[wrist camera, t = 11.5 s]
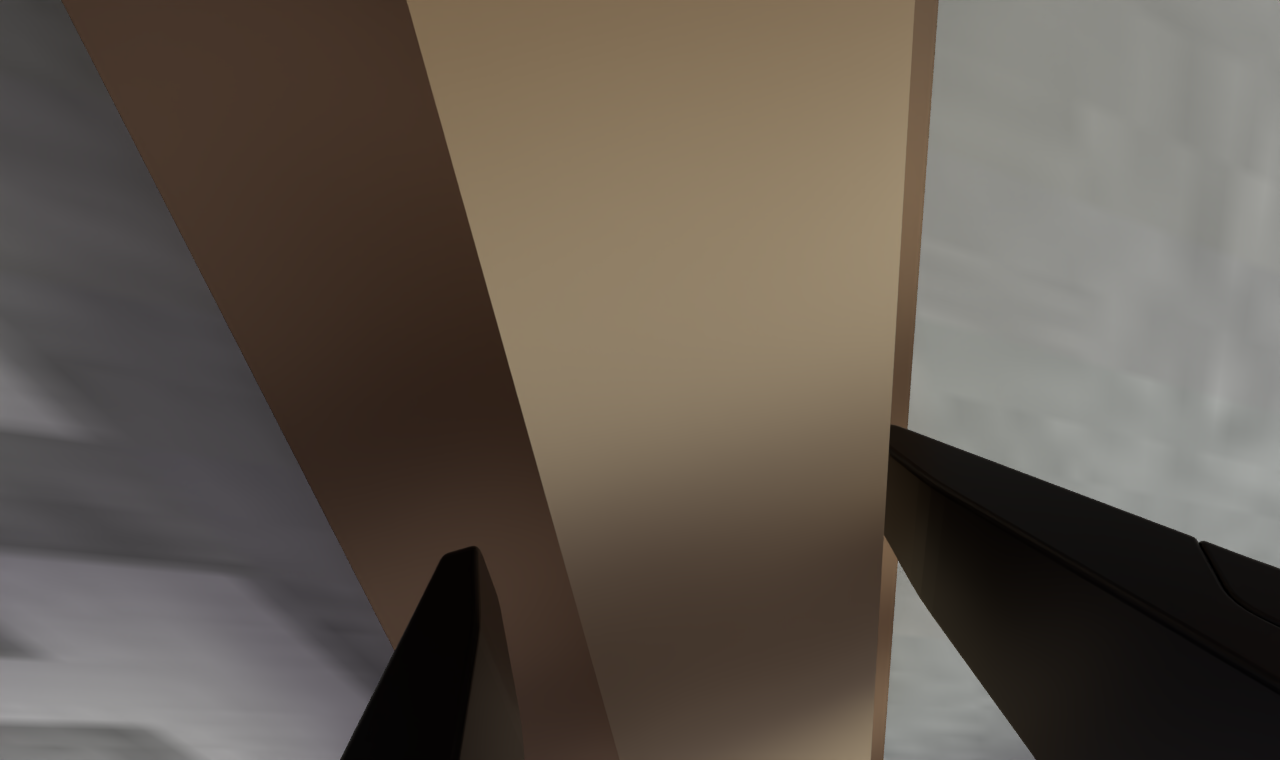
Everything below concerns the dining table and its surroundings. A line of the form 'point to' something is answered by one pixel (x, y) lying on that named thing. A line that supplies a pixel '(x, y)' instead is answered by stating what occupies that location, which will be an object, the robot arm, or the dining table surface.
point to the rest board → (391, 304)
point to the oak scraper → (698, 337)
